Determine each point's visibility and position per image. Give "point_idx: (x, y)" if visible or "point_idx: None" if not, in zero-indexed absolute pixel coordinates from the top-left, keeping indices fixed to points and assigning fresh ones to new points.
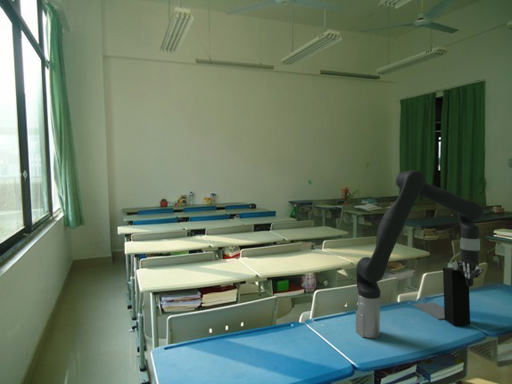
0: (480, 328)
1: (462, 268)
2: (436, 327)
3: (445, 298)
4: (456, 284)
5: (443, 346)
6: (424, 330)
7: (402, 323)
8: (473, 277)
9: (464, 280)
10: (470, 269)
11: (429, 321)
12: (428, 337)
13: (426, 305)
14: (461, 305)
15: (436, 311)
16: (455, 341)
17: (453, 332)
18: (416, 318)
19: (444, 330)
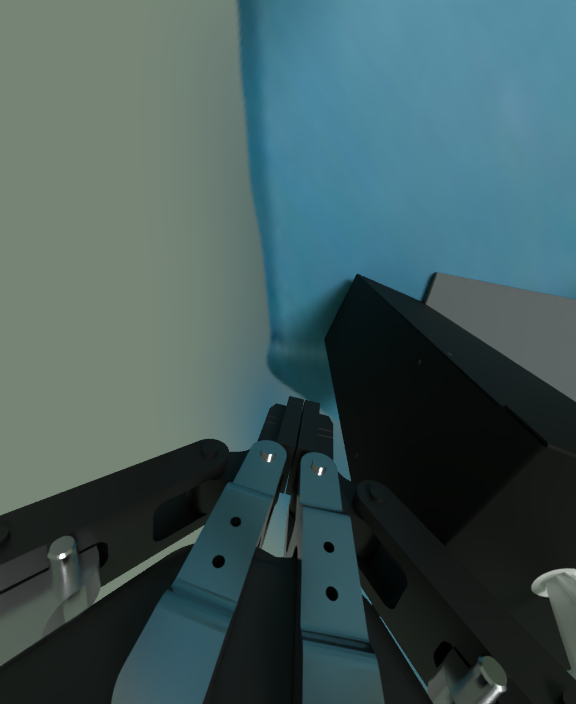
0: (298, 356)
1: (414, 590)
2: (389, 184)
3: (461, 331)
4: (405, 378)
5: (239, 24)
6: (400, 80)
7: (537, 6)
8: (188, 448)
9: (374, 466)
10: (194, 561)
11: (452, 211)
12: (335, 25)
13: (572, 357)
14: (352, 338)
15: (494, 337)
16: (256, 142)
17: (319, 218)
18: (519, 171)
19: (350, 195)
